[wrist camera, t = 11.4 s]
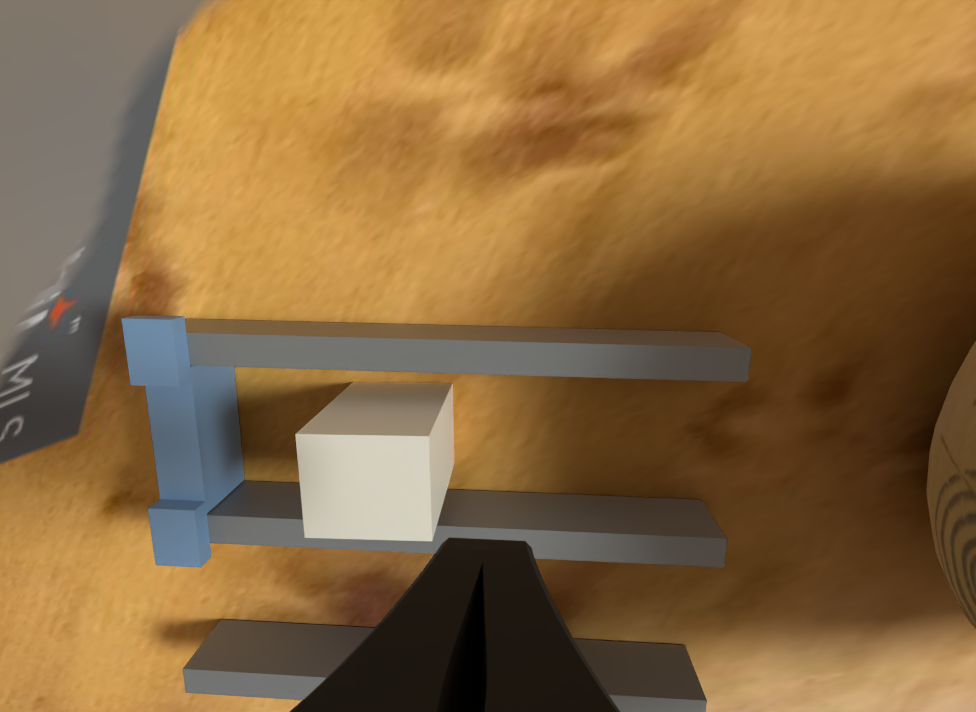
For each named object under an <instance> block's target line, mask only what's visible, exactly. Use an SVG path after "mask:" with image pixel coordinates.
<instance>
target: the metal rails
mask: <svg viewBox="0 0 976 712" xmlns="http://www.w3.org/2000/svg"><path fill="white" fill-rule="evenodd" d="M121 319H122V326H123V333H124V341H125V348H126V355H127V362H128V370H129V377H130V384H131V385H135V386H145V389H146V396H147V404H148V411H149V419H150V426H151V434H152V442H153V449H154V457H155V464H156V472H157V479H158V487H159V494H160V500H158V501H157V502H156V503H154V504H153V505H152V506H150V507H149V508H148V514H149V521H150V528H151V535H152V542H153V550H154V557H155V564H156V565H161V566H180V567H200V568H201V567H202V566H203V565H204V564H205V563H206V562H207V561H208V560H209V559H210V558H211V548H210V543H220V544H241V545H262V546H283V547H304V548H325V549H346V550H367V551H388V552H409V553H430V554H435V553H436V552H437V550H438V549H439V547H440V546H441V544H442V543H443V542H444V541H445V540H447V539H448V538H449V537H450V538H472V539H494V540H515V541H526V542H527V543H528V544H529V545H530V547H531V548H532V551H533V555H534V558H535V559H555V560H576V561H597V562H618V563H639V564H660V565H681V566H702V567H722V568H724V562H725V555H726V547H727V537H726V536H725V534H724V533H723V531H722V530H721V528H720V527H719V525H718V524H717V522H716V521H715V519H714V518H713V516H712V515H711V513H710V512H709V510H708V509H707V507H706V506H705V504H704V503H703V501H702V500H699V499H675V498H651V497H627V496H602V495H578V494H554V493H530V492H506V491H481V490H457V489H447V491H446V495H445V498H444V502H443V505H442V509H441V512H440V516H439V519H438V523H437V526H436V530H435V533H434V537H433V540H432V541H399V540H364V539H329V538H305V536H304V525H303V514H302V503H301V491H300V483H288V482H264V481H244V480H245V477H244V467H243V456H242V445H241V434H240V424H239V413H238V402H237V392H236V381H235V370H234V367H256V368H290V369H323V370H357V371H390V372H424V373H457V374H490V375H524V376H557V377H591V378H624V379H658V380H691V381H725V382H748V375H749V367H750V359H751V351H752V348H751V347H749V346H747V345H745V344H743V343H741V342H739V341H737V340H735V339H733V338H731V337H729V336H727V335H725V334H723V333H721V332H703V331H663V330H623V329H583V328H543V327H504V326H464V325H424V324H384V323H344V322H304V321H265V320H225V319H185V317H184V316H145V315H135V316H130V317H126V318H121ZM373 630H374V628H369V627H351V626H333V625H315V624H296V623H278V622H260V621H242V620H224V619H221V620H220V621H219V622H218V624H217V625H216V626H215V628H214V629H213V630H212V631H211V633H210V634H209V635H208V637H207V638H206V639H205V641H204V642H203V643H202V644H201V646H200V647H199V648H198V650H197V651H196V652H195V654H194V655H193V656H192V657H191V659H190V660H189V661H188V663H187V664H186V665H185V667H184V668H183V675H184V683H185V690H186V693H198V694H213V695H229V696H245V697H261V698H277V699H293V700H303V699H305V698H306V697H307V696H308V695H309V694H310V693H311V692H312V691H313V690H314V689H315V688H316V687H318V686H319V685H320V684H321V683H322V682H323V681H324V680H325V679H326V678H327V677H328V676H329V675H330V674H331V673H332V672H333V671H334V670H335V669H336V668H337V667H338V666H339V665H340V664H341V663H342V662H343V661H344V660H345V659H346V658H347V657H348V656H349V655H350V654H351V653H352V652H353V651H354V650H355V648H356V647H357V646H358V645H359V644H360V643H361V642H362V641H363V640H364V639H365V638H366V637H367V636H368V635H369V634H370V633H371V632H372V631H373ZM574 641H575V643H576V644H577V646H578V648H579V649H580V651H581V653H582V654H583V656H584V658H585V659H586V661H587V662H588V664H589V666H590V667H591V669H592V670H593V672H594V673H595V675H596V676H597V678H598V680H599V681H600V683H601V684H602V686H603V687H604V689H605V690H606V692H607V693H608V695H609V696H610V698H611V699H612V701H613V702H614V703H615V705H616V706H617V708H618V709H619V711H620V712H705V711H706V703H707V700H706V697H705V695H704V692H703V690H702V687H701V685H700V682H699V680H698V677H697V675H696V672H695V670H694V667H693V665H692V662H691V659H690V657H689V654H688V652H687V649H686V647H685V645H675V644H657V643H639V642H621V641H603V640H585V639H574Z"/></svg>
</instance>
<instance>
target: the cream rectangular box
mask: <svg viewBox="0 0 976 712" xmlns="http://www.w3.org/2000/svg"><path fill="white" fill-rule="evenodd" d="M295 436H296V447H297V458H298V469H299V480H300V491H301V503H302V514H303V525H304V536H305V538H329V539H364V540H399V541H432V540H433V537H434V533H435V530H436V526H437V523H438V519H439V516H440V512H441V509H442V505H443V502H444V498H445V495H446V491H447V488H448V484H449V481H450V477H451V474H452V470H453V467H454V426H453V383H394V382H352V383H351V384H350V385H349V386H348V387H347V388H346V389H345V390H344V391H342V392H341V393H340V394H339V395H338V396H337V397H336V398H335V399H334V400H332V401H331V402H330V403H329V404H328V405H327V406H326V407H325V408H324V409H322V410H321V411H320V412H319V413H318V414H317V415H316V416H315V417H314V418H313V419H311V420H310V421H309V422H308V423H307V424H306V425H305V426H304V427H303V428H301V429H300V430H299V431H298V432H297V433H296V434H295Z"/></svg>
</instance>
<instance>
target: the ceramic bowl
mask: <svg viewBox="0 0 976 712" xmlns="http://www.w3.org/2000/svg"><path fill="white" fill-rule="evenodd" d="M926 495H927V501H928V508H929V515H930V522H931V529H932V535H933V540H934V545H935V550H936V555H937V558H938V560H939V563H940V565H941V567H942V570H943V572H944V575H945V577H946V580H947V582H948V584H949V585H950V587H951V589H952V591H953V593H954V595H955V597H956V599H957V601H958V603H959V605H960V607H961V609H962V611H963V613H964V614H965V616H966V617H967V618H968V620H969V621H970V622H971V624H972V625H973V626H974V628H975V629H976V341H975V343H974V344H973V346H972V347H971V349H970V351H969V353H968V355H967V356H966V358H965V360H964V362H963V363H962V365H961V367H960V369H959V371H958V372H957V374H956V376H955V378H954V380H953V382H952V384H951V386H950V389H949V391H948V394H947V396H946V399H945V401H944V404H943V407H942V410H941V412H940V415H939V417H938V420H937V422H936V425H935V429H934V434H933V438H932V443H931V448H930V453H929V465H928V478H927V490H926Z"/></svg>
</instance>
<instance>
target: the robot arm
mask: <svg viewBox="0 0 976 712" xmlns="http://www.w3.org/2000/svg"><path fill="white" fill-rule="evenodd" d="M290 712H620V711H619V709H618V708H617V706H616V705H615V703H614V702H613V701H612V699H611V698H610V696H609V695H608V693H607V692H606V690H605V689H604V687H603V686H602V684H601V683H600V681H599V680H598V678H597V676H596V675H595V673H594V672H593V670H592V669H591V667H590V666H589V664H588V662H587V661H586V659H585V658H584V656H583V654H582V653H581V651H580V649H579V648H578V646H577V644H576V643H575V641H574V639H573V637H572V636H571V634H570V632H569V630H568V628H567V626H566V625H565V623H564V621H563V619H562V617H561V615H560V614H559V612H558V610H557V608H556V606H555V604H554V602H553V600H552V598H551V596H550V594H549V592H548V590H547V588H546V585H545V583H544V581H543V579H542V576H541V574H540V572H539V569H538V566H537V564H536V561H535V558H534V555H533V551H532V548H531V547H530V545H529V544H528V543H527V542H526V541H515V540H494V539H472V538H450V537H449V538H448V539H447V540H445V541H444V542H443V543H442V544H441V546H440V547H439V549H438V550H437V552H436V553H435V554H434V556H433V557H432V559H431V560H430V561H429V563H428V564H427V566H426V567H425V568H424V570H423V571H422V572H421V573H420V575H419V576H418V577H417V579H416V580H415V581H414V582H413V584H412V585H411V586H410V588H409V589H408V590H407V591H406V592H405V594H404V595H403V596H402V597H401V598H400V599H399V601H398V602H397V603H396V604H395V605H394V607H393V608H392V609H391V610H390V611H389V613H388V614H387V615H386V616H385V617H384V618H383V620H382V621H381V622H380V623H379V624H378V625H377V626H376V627H375V628H374V630H373V631H372V632H371V633H370V634H369V635H368V636H367V637H366V638H365V639H364V640H363V641H362V642H361V643H360V644H359V645H358V646H357V647H356V648H355V650H354V651H353V652H352V653H351V654H350V655H349V656H348V657H347V658H346V659H345V660H344V661H343V662H342V663H341V664H340V665H339V666H338V667H337V668H336V669H335V670H334V671H333V672H332V673H331V674H330V675H329V676H328V677H327V678H326V679H325V680H324V681H323V682H322V683H321V684H320V685H319V686H318V687H316V688H315V689H314V690H313V691H312V692H311V693H310V694H309V695H308V696H307V697H306V698H305V699H303V700H302V701H301V702H300V703H299V704H298V705H297V706H296V707H294V708H293V709H292V710H291V711H290Z"/></svg>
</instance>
